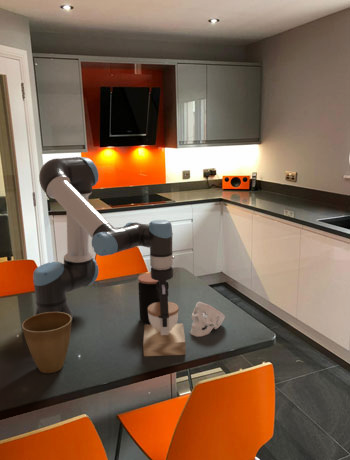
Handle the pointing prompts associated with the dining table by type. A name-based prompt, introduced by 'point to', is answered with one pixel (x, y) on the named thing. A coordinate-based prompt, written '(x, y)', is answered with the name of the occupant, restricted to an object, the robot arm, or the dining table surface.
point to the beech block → (164, 341)
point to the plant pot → (48, 339)
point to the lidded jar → (155, 312)
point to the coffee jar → (146, 295)
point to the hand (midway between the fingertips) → (163, 326)
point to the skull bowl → (205, 319)
